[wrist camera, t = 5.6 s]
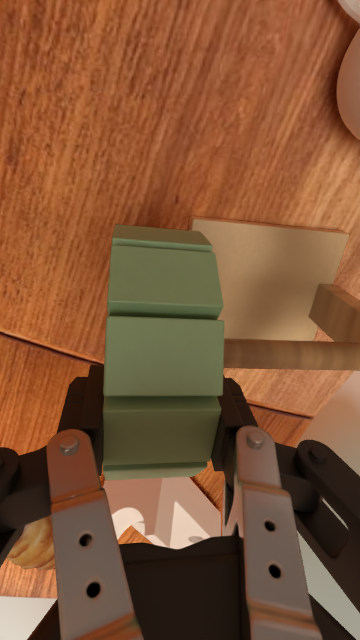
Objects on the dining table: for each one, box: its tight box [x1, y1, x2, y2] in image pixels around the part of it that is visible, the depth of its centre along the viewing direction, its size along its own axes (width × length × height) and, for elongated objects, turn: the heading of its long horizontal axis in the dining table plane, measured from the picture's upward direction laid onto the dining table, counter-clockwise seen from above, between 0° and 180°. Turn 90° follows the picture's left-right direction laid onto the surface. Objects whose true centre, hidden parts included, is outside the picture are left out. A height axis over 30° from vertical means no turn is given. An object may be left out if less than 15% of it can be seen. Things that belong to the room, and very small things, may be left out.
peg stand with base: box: [189, 216, 360, 371], centre depth 21 cm, size 13×11×12 cm
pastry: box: [6, 516, 55, 570], centre depth 36 cm, size 9×7×4 cm
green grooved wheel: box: [103, 224, 224, 480], centre depth 16 cm, size 4×12×12 cm, turn 174°
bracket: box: [103, 477, 221, 549], centre depth 33 cm, size 13×7×8 cm, turn 28°
